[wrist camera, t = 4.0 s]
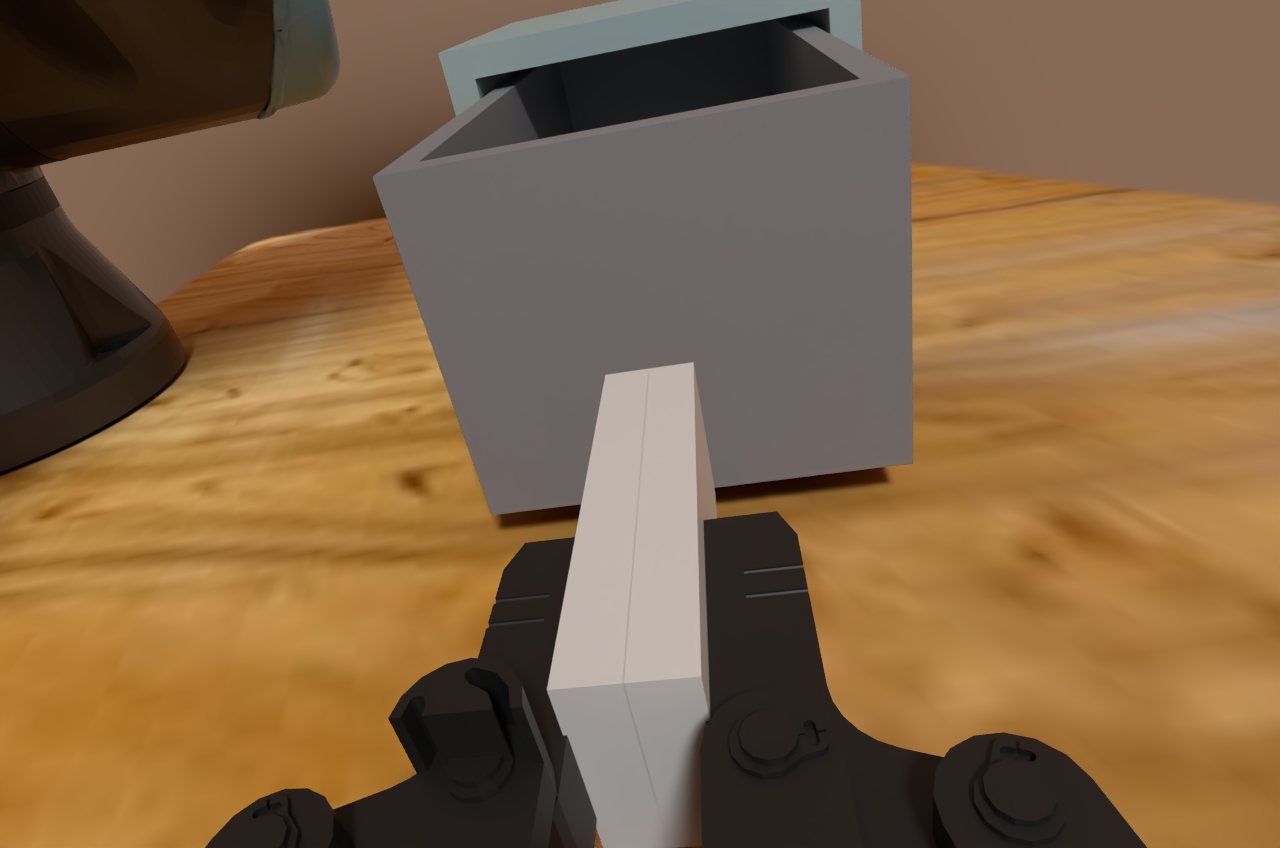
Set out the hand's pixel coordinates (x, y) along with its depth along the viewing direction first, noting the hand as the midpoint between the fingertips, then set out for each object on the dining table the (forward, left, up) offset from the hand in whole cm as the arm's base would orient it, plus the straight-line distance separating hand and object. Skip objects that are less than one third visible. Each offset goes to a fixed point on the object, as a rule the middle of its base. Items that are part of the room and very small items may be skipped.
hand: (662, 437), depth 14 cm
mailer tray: (-13, +12, -5) cm, 18 cm away
